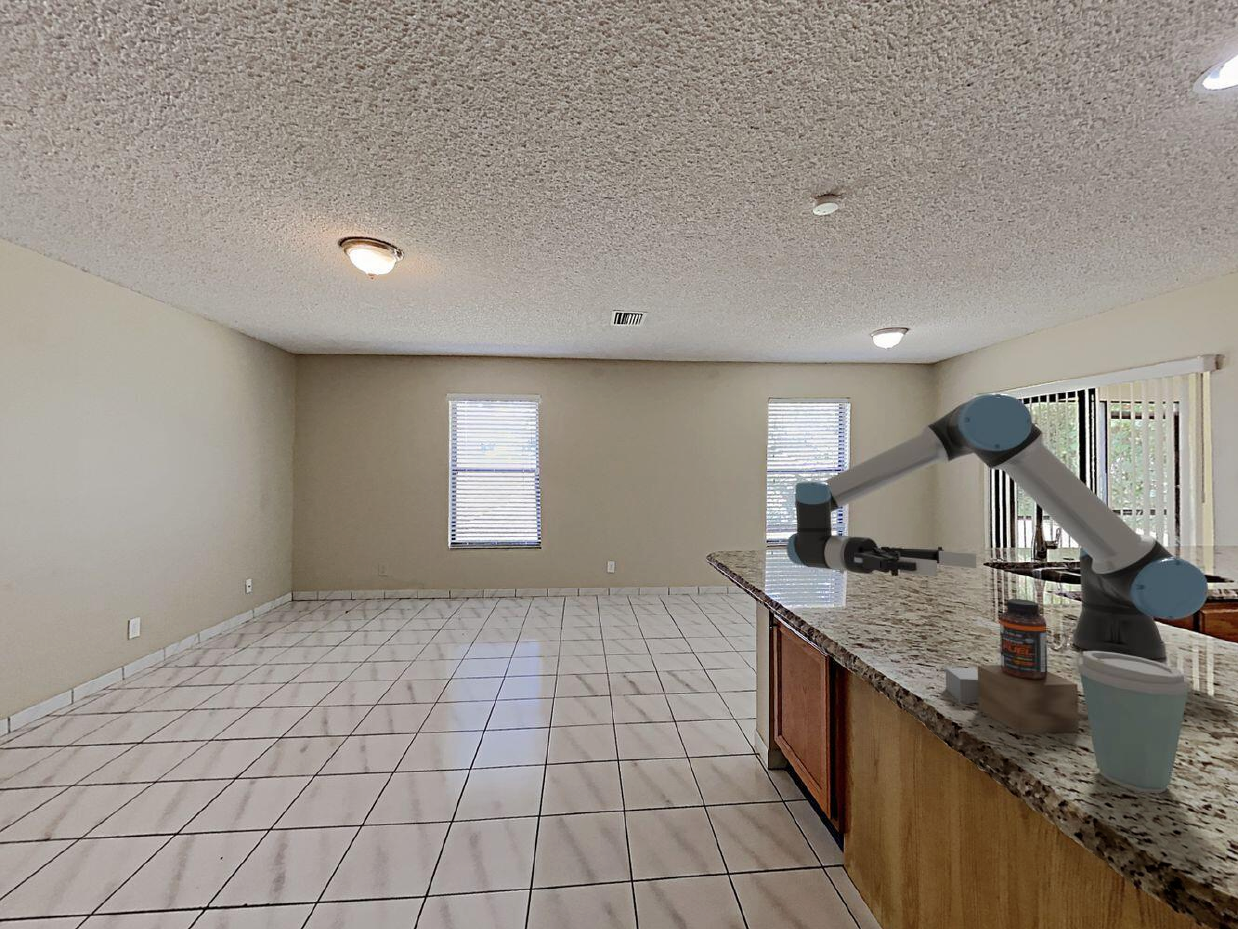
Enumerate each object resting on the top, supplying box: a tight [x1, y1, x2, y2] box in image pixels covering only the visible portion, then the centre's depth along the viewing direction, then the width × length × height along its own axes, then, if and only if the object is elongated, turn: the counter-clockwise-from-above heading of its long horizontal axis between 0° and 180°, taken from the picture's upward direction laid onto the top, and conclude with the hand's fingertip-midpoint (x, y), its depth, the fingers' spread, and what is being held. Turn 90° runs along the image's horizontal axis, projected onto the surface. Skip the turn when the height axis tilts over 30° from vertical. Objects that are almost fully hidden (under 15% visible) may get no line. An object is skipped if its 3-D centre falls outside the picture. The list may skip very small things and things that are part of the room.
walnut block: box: [977, 664, 1080, 735], centre depth 88 cm, size 9×9×7 cm
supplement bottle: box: [999, 598, 1048, 680], centre depth 89 cm, size 6×6×11 cm
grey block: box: [945, 666, 979, 704], centre depth 98 cm, size 6×6×4 cm
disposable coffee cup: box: [1076, 650, 1192, 794], centre depth 70 cm, size 11×11×15 cm
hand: (956, 564), depth 103 cm, fingers open, 13 cm apart
